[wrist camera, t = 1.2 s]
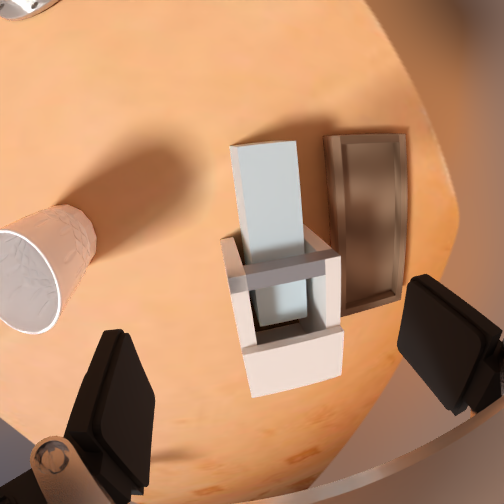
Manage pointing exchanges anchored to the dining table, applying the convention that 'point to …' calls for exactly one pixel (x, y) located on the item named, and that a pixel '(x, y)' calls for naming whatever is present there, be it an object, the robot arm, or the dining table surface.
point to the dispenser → (295, 335)
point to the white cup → (43, 266)
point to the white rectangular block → (270, 221)
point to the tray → (368, 216)
